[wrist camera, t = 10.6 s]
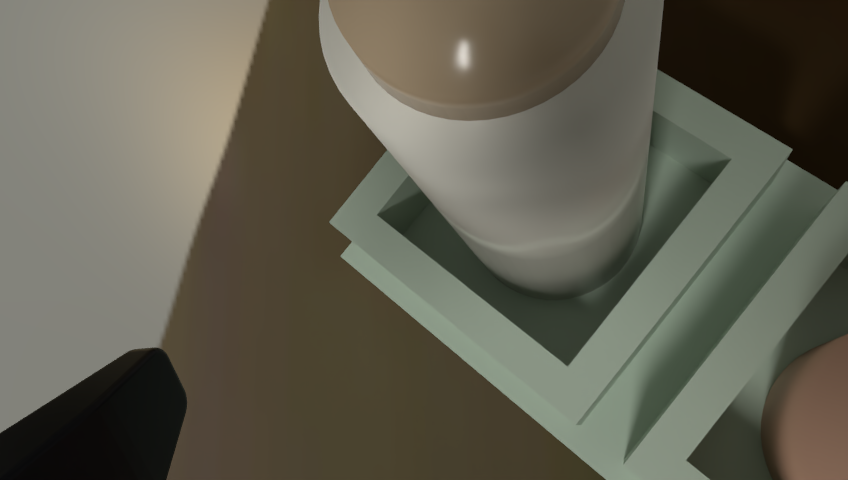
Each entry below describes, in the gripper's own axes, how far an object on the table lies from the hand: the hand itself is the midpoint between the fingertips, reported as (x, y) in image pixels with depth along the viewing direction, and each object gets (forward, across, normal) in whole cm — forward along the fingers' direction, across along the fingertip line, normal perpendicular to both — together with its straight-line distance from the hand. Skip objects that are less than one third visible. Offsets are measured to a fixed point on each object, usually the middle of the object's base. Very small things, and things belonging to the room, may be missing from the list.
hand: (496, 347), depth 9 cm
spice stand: (+11, -4, +8) cm, 14 cm away
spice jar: (+12, 0, +5) cm, 13 cm away
